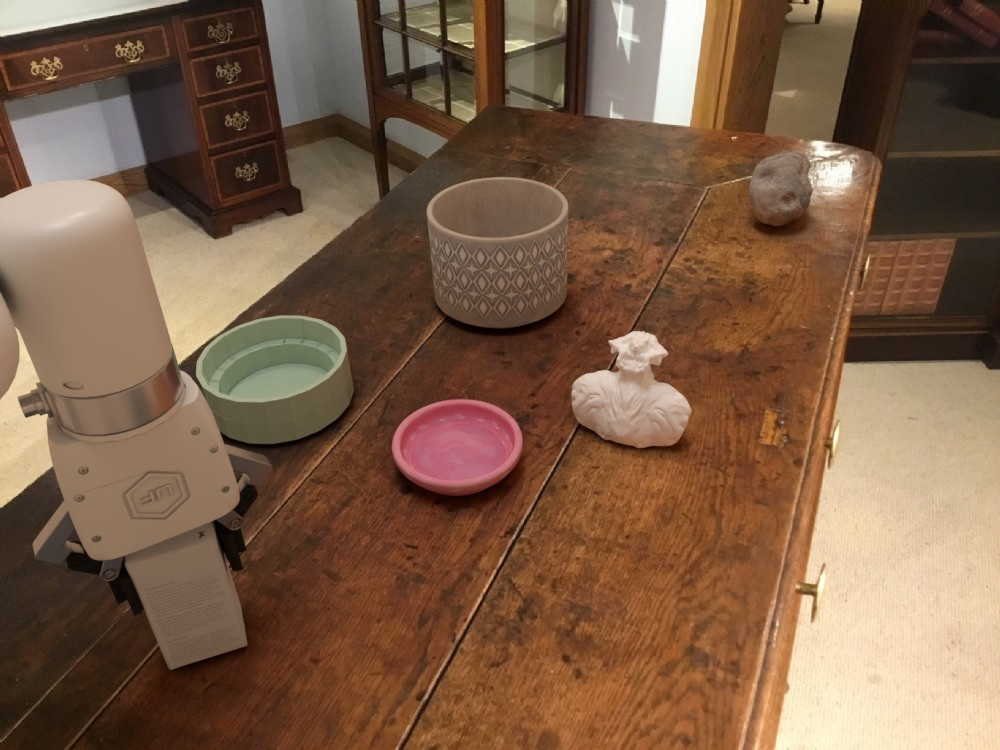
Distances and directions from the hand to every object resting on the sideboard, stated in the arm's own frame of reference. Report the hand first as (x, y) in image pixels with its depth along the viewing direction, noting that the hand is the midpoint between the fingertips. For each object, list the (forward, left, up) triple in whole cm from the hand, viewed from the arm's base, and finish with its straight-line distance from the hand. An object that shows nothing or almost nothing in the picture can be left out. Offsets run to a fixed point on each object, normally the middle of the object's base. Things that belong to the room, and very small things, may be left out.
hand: (184, 578), depth 62 cm
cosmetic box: (0, 0, -7) cm, 7 cm away
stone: (+90, +27, -8) cm, 94 cm away
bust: (+44, +2, -8) cm, 44 cm away
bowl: (+16, +26, -8) cm, 31 cm away
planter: (+46, +30, -8) cm, 55 cm away
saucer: (+27, +7, -8) cm, 29 cm away
